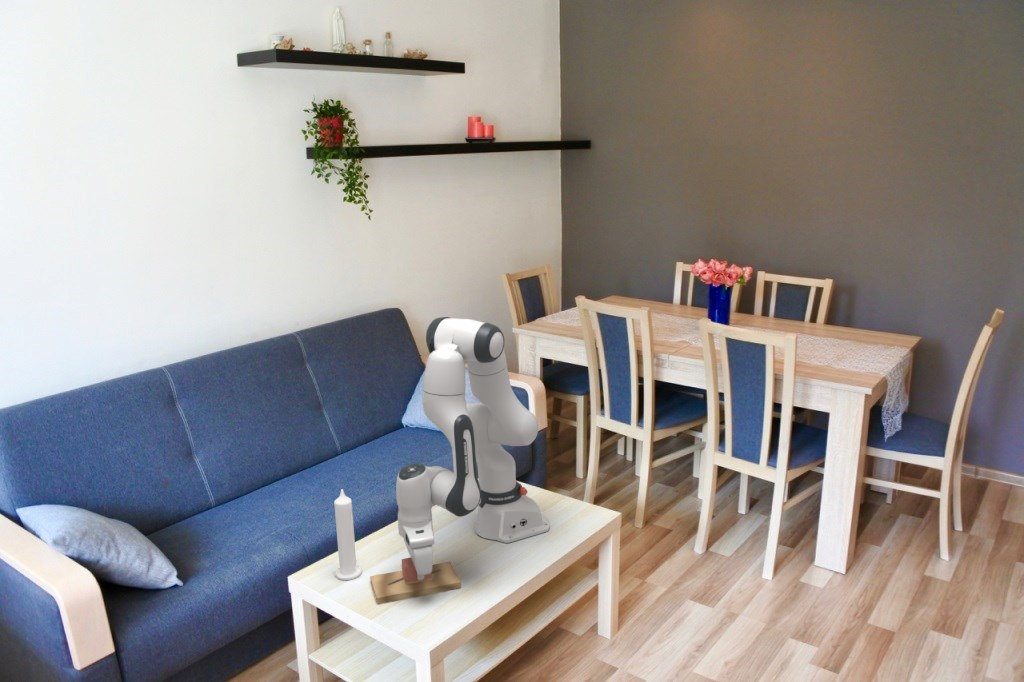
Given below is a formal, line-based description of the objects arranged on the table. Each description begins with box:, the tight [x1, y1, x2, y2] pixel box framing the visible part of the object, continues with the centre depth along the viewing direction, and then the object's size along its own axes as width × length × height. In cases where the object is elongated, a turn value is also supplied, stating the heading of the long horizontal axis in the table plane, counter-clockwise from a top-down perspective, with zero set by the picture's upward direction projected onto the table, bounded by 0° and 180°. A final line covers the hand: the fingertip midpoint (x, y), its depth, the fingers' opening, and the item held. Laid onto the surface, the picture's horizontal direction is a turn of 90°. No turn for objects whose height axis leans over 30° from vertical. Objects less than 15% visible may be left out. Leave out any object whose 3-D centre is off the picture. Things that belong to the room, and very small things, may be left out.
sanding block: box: [401, 557, 432, 584], centre depth 214 cm, size 7×4×5 cm, turn 108°
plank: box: [369, 561, 462, 605], centre depth 215 cm, size 22×11×2 cm, turn 108°
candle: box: [333, 488, 363, 581], centre depth 218 cm, size 7×7×25 cm
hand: (418, 572), depth 215 cm, fingers closed on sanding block, 4 cm apart
